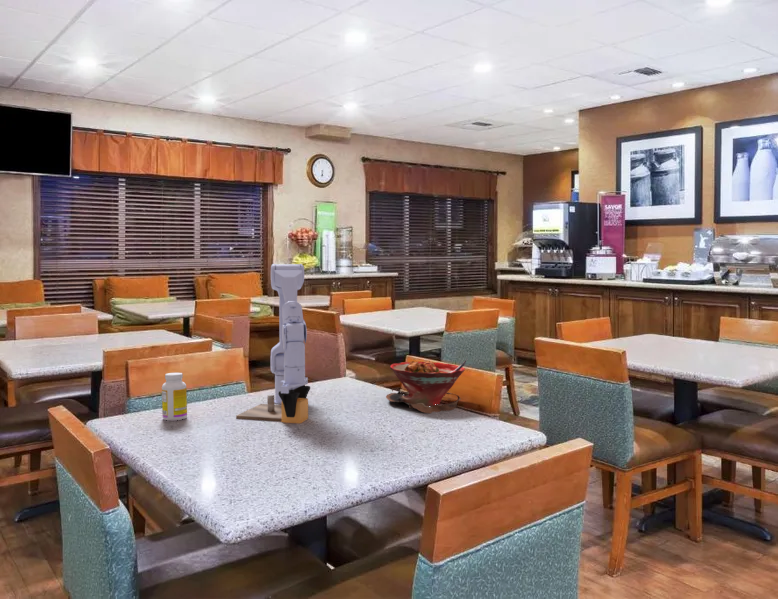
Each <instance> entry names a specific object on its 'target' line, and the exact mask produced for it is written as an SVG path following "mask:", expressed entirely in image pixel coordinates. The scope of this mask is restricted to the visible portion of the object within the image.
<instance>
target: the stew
mask: <svg viewBox="0 0 778 599" xmlns="http://www.w3.org/2000/svg"><path fill="white" fill-rule="evenodd" d="M467 361H468V358H466V359H465V360H464V361H463V362H462V363H461V364H460V365H457V364H450V363H443V362H433V361H430V360H429V361H427V360H426V361H414V360H413V361H410V362H409V361H405V362H398V363H397V362H395V363H394V362H393V363H392V364H390V365H389V368H390V370H392V372H393V374H394V375H395V377H396V378H397V379H398V381H400V383H401V384H402V386H403V387H404V388H405V390H406V391H400V390H401V388H400V387H398V390H399V391H398V392H393V391H394V390H395V389H397V387H395V388H391V393H387V394H386V396H385V398H386V399H387V400H388V401H390V402H394V403H395V402H396V403H405V404H406V405H408V408H410V409H413V408H414V409H415V410H418V411H419V412H422V413H425V414H432V413H440V412H449V411H453V410H455V409H456V408H458V402H459V401H460V400H461V397H460V395H457V394H456V393H451V392H449V391H450V390H451V389H452V387H453V386H454V385H455V383H456V382H457V381H458V379H459V377H460V376H462V374H463V373H464V371H465V370H466V369H465V367H464V366H465V365H466V363H467ZM445 395H453V396H456V397H457V398H456V400H455V401H450V398H448V399H447V400H449V401H450V402H449V403H447V404H446V403H444V404H441V402H442V399H443V398H444V397H445ZM435 404H436V405H435ZM437 404H438V405H437ZM429 406H431V407H429Z"/></svg>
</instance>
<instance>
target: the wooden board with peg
mask: <svg viewBox="0 0 778 599" xmlns="http://www.w3.org/2000/svg"><path fill="white" fill-rule="evenodd" d="M266 397H267V403H260V404H258V405H256V406H253V407H252V408H249V409H247V410H246V411H243V412H240V413H239V414H237V415H235V418H236V420H237V419H238V420H253V421H266V422H267V421H268V422H269V421H271V422H282V411H281V404H274V400H275V394H268V395H267V396H266Z"/></svg>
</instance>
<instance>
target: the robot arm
mask: <svg viewBox="0 0 778 599" xmlns="http://www.w3.org/2000/svg"><path fill="white" fill-rule="evenodd" d="M304 282H305V267H304V265H303V263H298V264H297V263H295V264H294V263H293V264H292V263H291V264H289V263H284V264H282V263H281V264H279V263H278V264H277V263H272V264H271V266H270V286H271V289H272V290H274V291H276V292H277V294H278V295H277V296H278V298H279V300H278V304H279V305H278V308H279V310H278V312H279V313H278V316H279V323H278V324H279V329H278V330H279V332H278V333H279V341H278V342H277V344H275V345H274V346H273V347H272V348H271V350H270V360H269V361H270V362H269V363H270V366H269V368H270V372H271V373H272V374H274V405H281V401H282V402H283V405H284V408H285V412H286V416H287V417H294V416H295V412H296V403H297V399H298V398H308V395H309V392H310V391H311V386H310V385H308V383H309V381H308V380H309V378H308V376H307V377H306V348H305V347H306V343H307V338H308V329H307V328H308V327H307V324H306V321H305V320H306V319H304V314H303V307H302V305H301V304H300V303H299V302H298V291H299V290H301V289H302V287H303V285H304Z"/></svg>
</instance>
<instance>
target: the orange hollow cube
mask: <svg viewBox="0 0 778 599" xmlns="http://www.w3.org/2000/svg"><path fill="white" fill-rule="evenodd" d="M280 405H281V411H282V421H281V423H287V424H288V423H289V424H302V423H303V422H305V421H306V420H308V419H309V398H308V397H306V398H298V399H297V403H296V412H295V416H294V417H287V416H286V412H285V408H284V405H283V402H282V401H281V404H280Z"/></svg>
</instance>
